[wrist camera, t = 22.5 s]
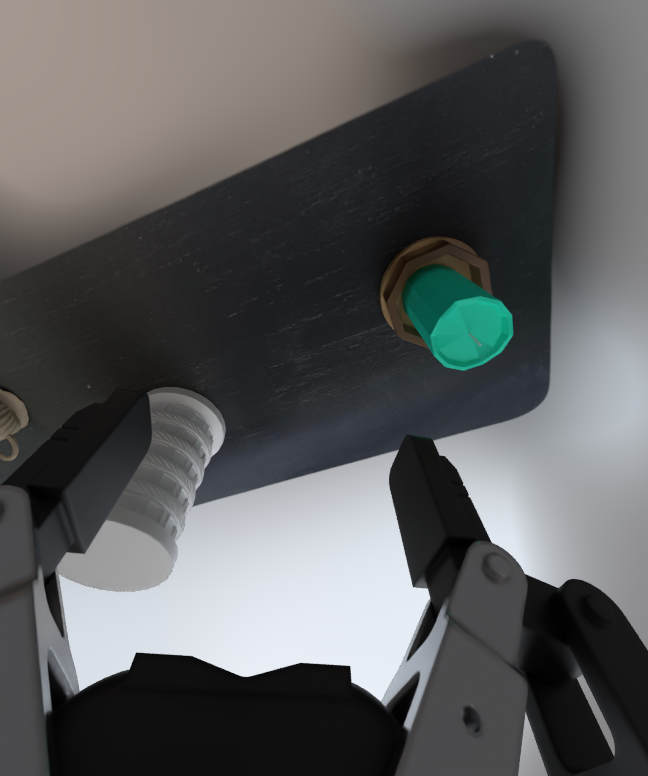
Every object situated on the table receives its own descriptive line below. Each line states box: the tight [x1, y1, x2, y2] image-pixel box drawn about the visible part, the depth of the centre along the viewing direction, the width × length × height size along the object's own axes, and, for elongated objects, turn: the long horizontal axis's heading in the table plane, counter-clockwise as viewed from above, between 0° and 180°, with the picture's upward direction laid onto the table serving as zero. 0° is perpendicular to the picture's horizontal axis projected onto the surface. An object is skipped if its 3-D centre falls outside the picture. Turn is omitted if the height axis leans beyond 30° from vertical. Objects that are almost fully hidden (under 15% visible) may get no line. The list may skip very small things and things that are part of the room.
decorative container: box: [57, 387, 226, 591], centre depth 36 cm, size 12×12×18 cm
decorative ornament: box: [0, 388, 29, 461], centre depth 39 cm, size 4×8×5 cm, turn 16°
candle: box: [401, 263, 513, 370], centre depth 28 cm, size 6×6×12 cm
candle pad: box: [379, 236, 493, 349], centre depth 33 cm, size 10×10×4 cm
